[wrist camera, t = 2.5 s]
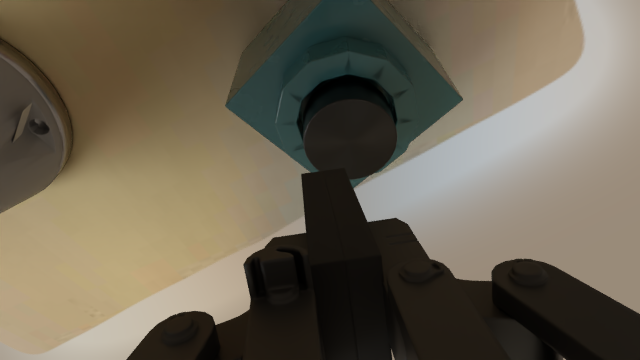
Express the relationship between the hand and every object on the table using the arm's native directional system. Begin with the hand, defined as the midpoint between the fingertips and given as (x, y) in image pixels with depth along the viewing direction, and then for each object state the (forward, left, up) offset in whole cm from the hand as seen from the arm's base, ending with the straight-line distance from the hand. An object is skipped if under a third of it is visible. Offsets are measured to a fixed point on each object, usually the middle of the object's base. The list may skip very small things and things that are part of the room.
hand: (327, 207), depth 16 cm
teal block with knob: (+2, 0, -21) cm, 21 cm away
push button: (+2, 0, -10) cm, 10 cm away
